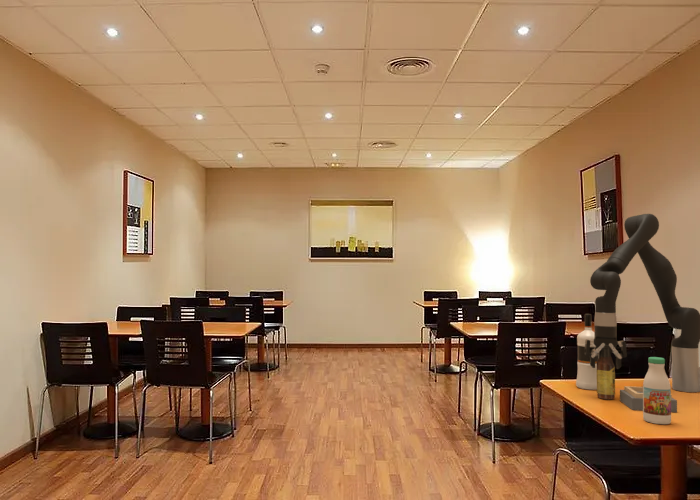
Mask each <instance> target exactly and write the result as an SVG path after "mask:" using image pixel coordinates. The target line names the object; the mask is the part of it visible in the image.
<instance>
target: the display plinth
mask: <svg viewBox="0 0 700 500" xmlns="http://www.w3.org/2000/svg"><path fill="white" fill-rule="evenodd" d="M619 401H620V402H621V403H623V404H624V405H625V406H626V407H628V408H629V409H631V411H642V412H643V386H632V385H630V386H629V385H628V386H626V385H624V386H623V389H619ZM671 413H678V400H677V399H676V398H673V395H672V394H671Z"/></svg>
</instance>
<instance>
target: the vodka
mask: <svg viewBox="0 0 700 500" xmlns="http://www.w3.org/2000/svg"><path fill="white" fill-rule="evenodd" d="M576 336H577V337H576V345H577V362H576V364H577V372H576V373H577V375H576V381H575V385H576V387H577V388H578V389H582V390H587V391H588V390H589V391H597V361H598V359H599V358H600V352H599V353H598V354H596V356H595V357H594V358H595V368H592V366H591V365H590V357H589V356H587V355H585V340H586V339H588V340H594V331H593V329H592V314H591V313H585V314H584V330H582V331H581V332H579V333H578V334H577V335H576ZM595 347H596V346H595V345H594V343H592V345H591V346H590V353H591V352H592V351H593V349H594V348H595Z"/></svg>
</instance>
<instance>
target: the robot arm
mask: <svg viewBox="0 0 700 500" xmlns="http://www.w3.org/2000/svg"><path fill="white" fill-rule="evenodd" d="M623 226H624V227H623V228H624V231H625V233H626V235H627V237H628V239H627V240H625V241H624V242H623V243H622V244H620V245H619V246H617V247H616V248H615V250H614V251H613V252H612V253H611V254H610V256H609V257H608V259H607V260H606V262H604V263H602V265H600V266H599V267H598V268H596V270H594V272H592V274H591V276H590V279H589V280H590V286H591V287H592V288H593V289H595V290H598V291H605V292H604V295H602V296H598V297H595V302H594V321H593V322H594V327H593V328H594V331H593V332H594V340H588V339H586V340H585V355H587V356H589V357H590V365H591V366H592V368H595V358H594V357H595V356H596V354H598V353H599V354H600V351H601V352H603V347H604V346H605V345H609V347H610V349H609V351H610V352H611V353H613V354H614V356H615V357H616V358H615V369H616V370H620V368H621V367H622V359H624V358H627V357H628V354H627V353H628V351H627V350H628V349H627V342H626V341H625V340H618V339H617V338H618V336H617V325H618V322H617V314H616V309H617V308H616V307H617V306H616V305H617V299H618V296H619V292H620V289H621V285H622V279H621V277H620V275H622V274H623V273H624V272H625V270H626V269H627V268H628V266H629V264H630V263H631V261H632V260H633V259H634V258H635V257H636V256H637V255H638V256H639V257H640V258H639V259H640V260H641V262H642V264H643V266H644V269H645V270H646V274H647V276H648V277H649V279H650V282H651V283H652V284H651V285H653V287H654V288H653V289H654V290H655V292H656V294H657V297H658V299H659V301H660V304H661V308H662V310H663V313H664V314H663V315H664V316H665V320H666V322H667V323H668V325H669V326H670V327H671V328H672V329H675V330H681V331H680V335H679V336H677V337H676V338H673V339H672V340H671V381H672V382H671V388H672V389H671V390H675V391H678V392H685V393H699V392H700V366H699V365H700V364H699V361H700V360H699V346H700V345H699V344H700V312H699V310H697V309H696V308H693V307H686V306H683V307H682V306H681V305H680V303H679V301H678V299H677V296H676V289H677V283H678V281H677V280H678V279H677V278H678V277H677V274H676V271H675V269H674V267H673V265H672V263H671V261H670V260H669V259H668V258H667V257H666V256H665V255H663V253H661V252H660V251H658V250H657V249H656V248H654V247H653V245H652V244H651V243H650V240H651V239H652V238H654V236H656V234H657V232H658V231H659V227H660V222H659V219H658V217H657V216H656V215H655V214H653V213H643V214H638V215H633V216H630V217H627V218H626V219H625V220H624V225H623ZM592 343H594V345H595V346H596V347H595V348H594V349H593V351H592V352H591V353H590V346H591V345H592ZM617 346H619V347H620V351H621V353H619V351H618V350H617V349H616V347H617Z"/></svg>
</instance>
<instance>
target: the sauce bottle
mask: <svg viewBox="0 0 700 500" xmlns="http://www.w3.org/2000/svg"><path fill="white" fill-rule="evenodd" d="M609 349H610V347H609V345H605V346H604V347H603V352H601V351H599V359H598V361H597V390H596V393H597V395H596V396H597V397H598V399H601V400H614V399H615V398H616V397H615V396H616V371H615V370H616V365H615V363H614V361H613V358H612V355H611V354H612V352H610V351H609Z"/></svg>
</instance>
